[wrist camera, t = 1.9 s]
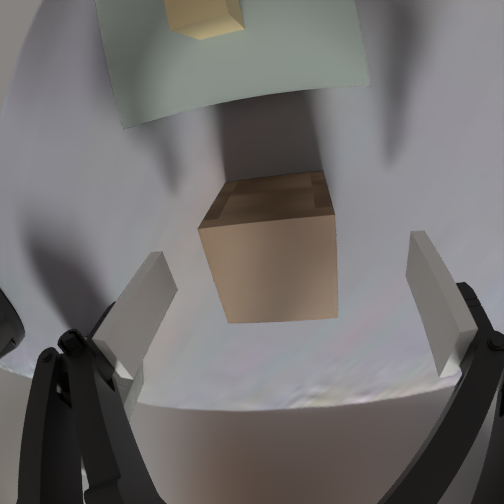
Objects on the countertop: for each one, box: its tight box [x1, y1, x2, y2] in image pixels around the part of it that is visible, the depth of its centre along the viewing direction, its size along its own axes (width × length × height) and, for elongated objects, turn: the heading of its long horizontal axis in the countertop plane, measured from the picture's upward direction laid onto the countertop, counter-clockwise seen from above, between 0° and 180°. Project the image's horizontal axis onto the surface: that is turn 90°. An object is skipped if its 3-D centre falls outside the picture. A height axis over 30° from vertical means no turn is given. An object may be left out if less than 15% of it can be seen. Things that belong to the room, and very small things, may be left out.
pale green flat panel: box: [95, 0, 371, 130], centre depth 10 cm, size 14×10×6 cm
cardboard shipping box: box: [198, 171, 338, 323], centre depth 17 cm, size 6×6×6 cm
